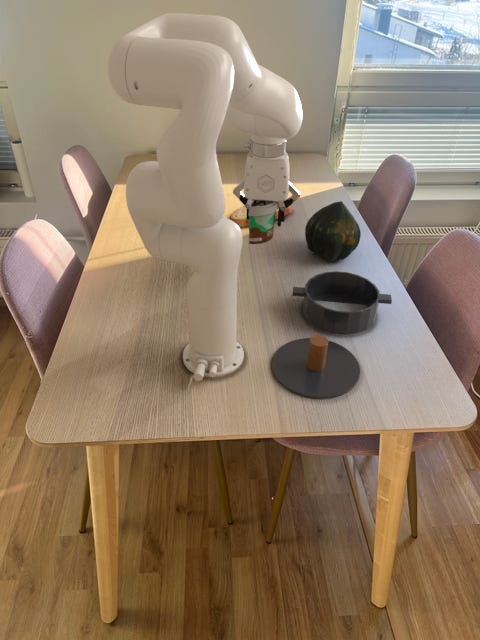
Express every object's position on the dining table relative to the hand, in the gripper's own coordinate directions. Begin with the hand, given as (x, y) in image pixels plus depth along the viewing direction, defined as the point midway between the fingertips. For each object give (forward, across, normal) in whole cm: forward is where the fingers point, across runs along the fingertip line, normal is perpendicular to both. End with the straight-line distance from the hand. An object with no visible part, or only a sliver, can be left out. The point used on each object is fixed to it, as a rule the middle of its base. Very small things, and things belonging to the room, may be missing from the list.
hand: (265, 222), depth 123 cm
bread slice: (+16, -4, +34) cm, 37 cm away
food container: (+4, 0, 0) cm, 4 cm away
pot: (+15, +19, -14) cm, 28 cm away
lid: (+15, +14, -34) cm, 39 cm away
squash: (+16, +17, +15) cm, 27 cm away
